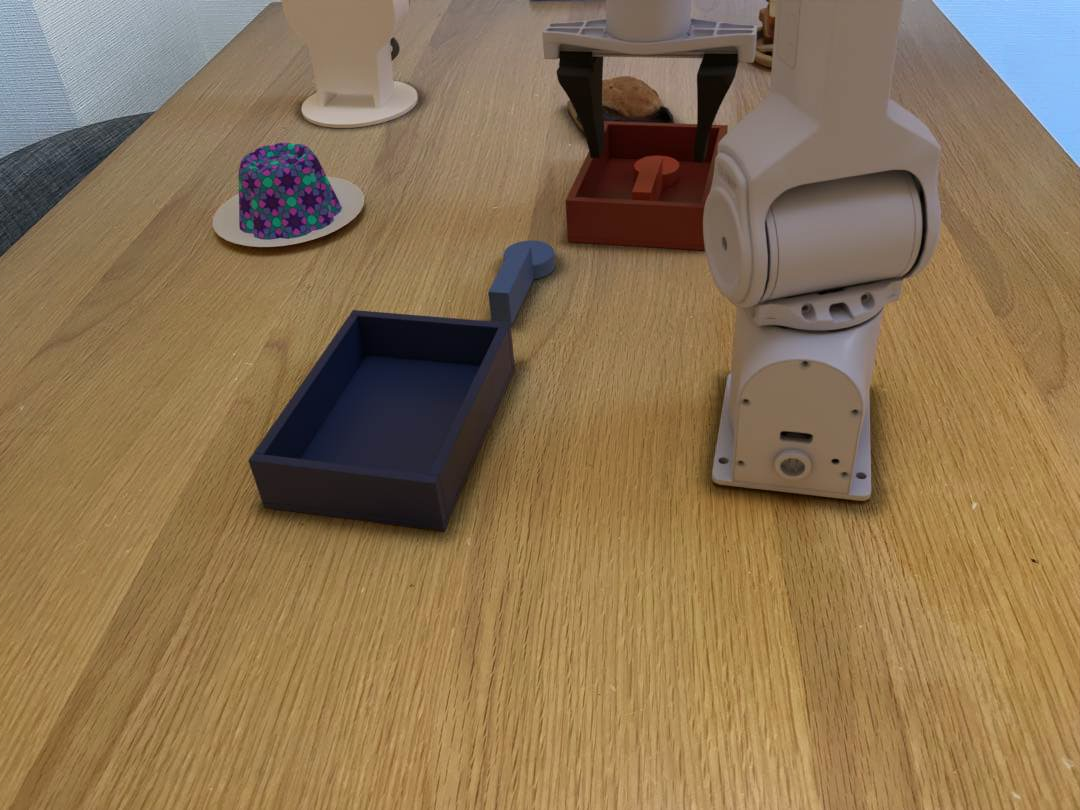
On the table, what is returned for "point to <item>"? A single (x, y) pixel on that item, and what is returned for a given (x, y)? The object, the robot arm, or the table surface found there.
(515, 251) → the blue spoon
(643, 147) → the red bin
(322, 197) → the pudding
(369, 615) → the table surface
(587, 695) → the table surface
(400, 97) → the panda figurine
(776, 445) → the robot arm
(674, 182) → the red spoon
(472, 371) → the blue bin
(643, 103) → the bread roll
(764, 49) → the toy sandwich meal
